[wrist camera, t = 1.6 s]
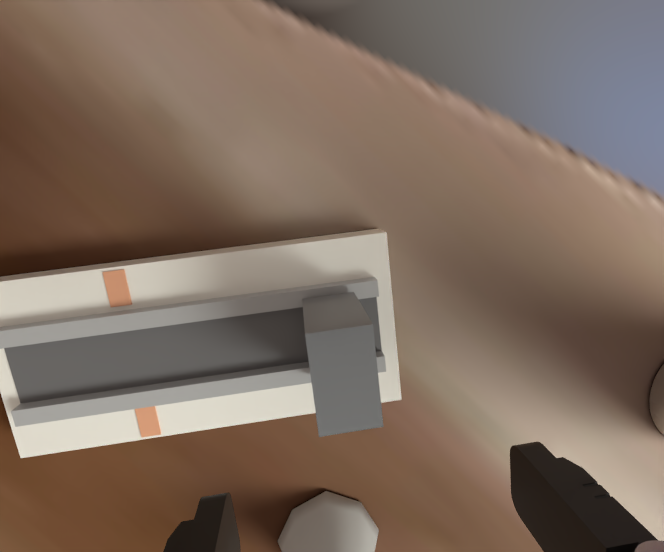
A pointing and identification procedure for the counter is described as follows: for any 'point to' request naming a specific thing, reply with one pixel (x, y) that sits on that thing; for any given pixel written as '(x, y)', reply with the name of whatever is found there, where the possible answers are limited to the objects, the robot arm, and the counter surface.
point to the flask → (329, 526)
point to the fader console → (179, 339)
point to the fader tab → (342, 364)
